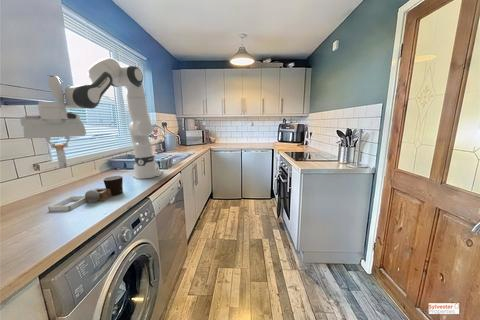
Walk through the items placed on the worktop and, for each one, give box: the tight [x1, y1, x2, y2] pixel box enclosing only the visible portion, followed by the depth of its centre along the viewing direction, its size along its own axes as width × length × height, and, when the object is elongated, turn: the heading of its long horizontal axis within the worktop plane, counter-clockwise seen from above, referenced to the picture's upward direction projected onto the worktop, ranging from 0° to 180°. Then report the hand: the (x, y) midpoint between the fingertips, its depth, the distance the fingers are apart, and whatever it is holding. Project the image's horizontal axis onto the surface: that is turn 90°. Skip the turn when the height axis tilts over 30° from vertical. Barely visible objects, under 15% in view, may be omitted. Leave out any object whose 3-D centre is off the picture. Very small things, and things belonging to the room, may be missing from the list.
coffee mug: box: [102, 175, 124, 197], centre depth 111 cm, size 12×9×10 cm
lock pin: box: [55, 144, 69, 169], centre depth 93 cm, size 3×3×10 cm
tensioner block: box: [84, 187, 113, 204], centre depth 103 cm, size 10×8×7 cm
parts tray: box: [47, 195, 87, 212], centre depth 97 cm, size 13×9×3 cm
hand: (59, 147), depth 92 cm, fingers closed on lock pin, 3 cm apart
